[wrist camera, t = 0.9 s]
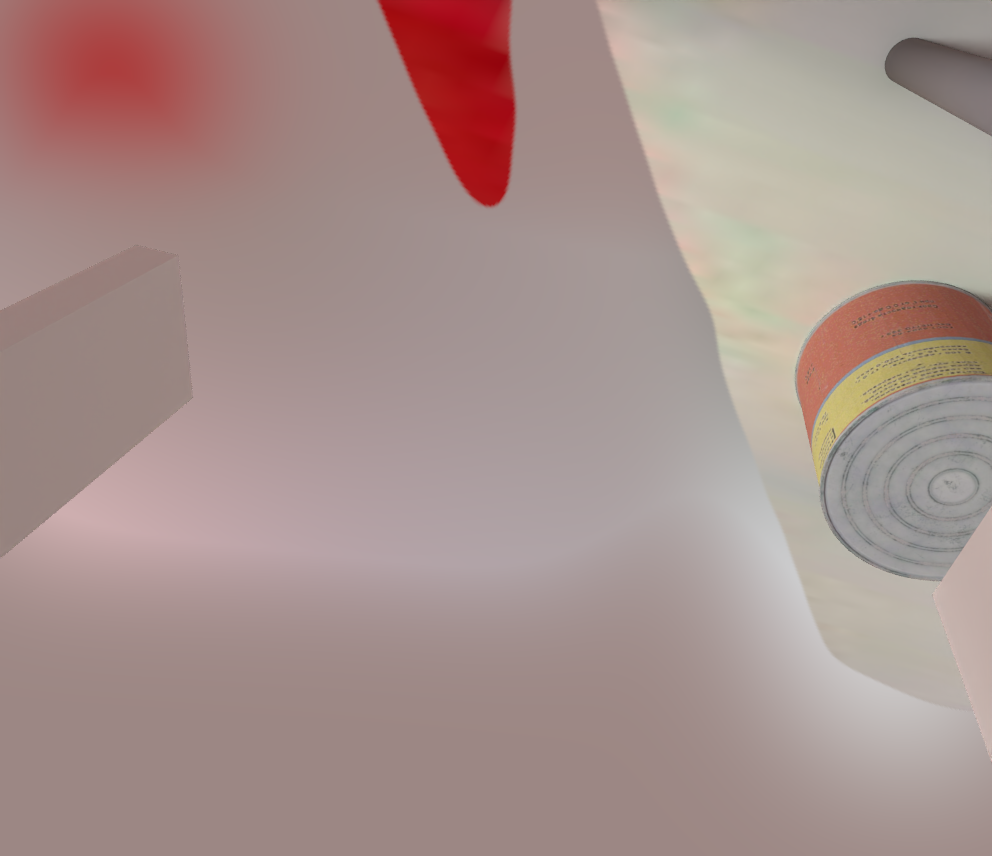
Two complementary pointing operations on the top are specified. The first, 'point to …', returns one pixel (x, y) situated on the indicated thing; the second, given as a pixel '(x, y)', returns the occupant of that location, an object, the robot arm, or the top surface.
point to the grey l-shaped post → (945, 79)
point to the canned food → (901, 423)
